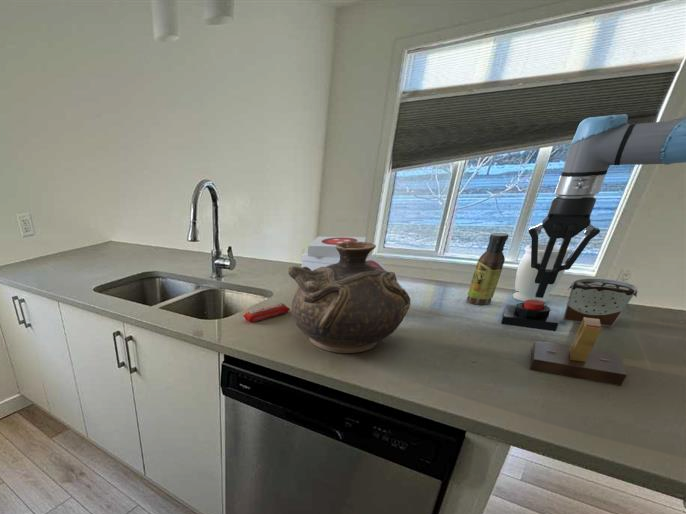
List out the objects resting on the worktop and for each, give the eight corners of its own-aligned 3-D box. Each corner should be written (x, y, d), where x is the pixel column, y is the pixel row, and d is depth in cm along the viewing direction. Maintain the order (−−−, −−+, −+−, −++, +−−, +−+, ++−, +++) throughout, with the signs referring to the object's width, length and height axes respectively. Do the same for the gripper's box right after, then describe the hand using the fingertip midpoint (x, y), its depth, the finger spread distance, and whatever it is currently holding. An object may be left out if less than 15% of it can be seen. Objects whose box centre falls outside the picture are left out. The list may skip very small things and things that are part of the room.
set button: (542, 307, 106) (545, 300, 105) (542, 311, 103) (545, 305, 102) (523, 304, 108) (525, 298, 107) (522, 309, 106) (525, 303, 105)
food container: (620, 320, 104) (639, 281, 99) (620, 328, 100) (640, 288, 95) (556, 311, 111) (571, 275, 106) (555, 319, 107) (570, 282, 102)
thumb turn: (569, 349, 88) (584, 316, 84) (584, 351, 86) (600, 317, 83) (569, 359, 84) (585, 325, 80) (585, 362, 83) (602, 327, 79)
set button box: (554, 318, 108) (560, 303, 106) (555, 331, 101) (561, 316, 99) (503, 312, 114) (508, 298, 112) (500, 324, 107) (505, 309, 105)
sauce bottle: (462, 299, 125) (481, 231, 115) (485, 299, 123) (507, 230, 113) (470, 306, 120) (491, 236, 110) (494, 306, 118) (518, 235, 108)
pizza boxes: (377, 317, 118) (388, 255, 109) (290, 298, 138) (294, 244, 129) (406, 300, 128) (418, 241, 119) (321, 284, 149) (326, 233, 140)
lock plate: (614, 363, 86) (620, 351, 85) (621, 385, 79) (627, 374, 78) (530, 350, 94) (535, 339, 93) (529, 369, 87) (534, 358, 85)
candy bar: (248, 324, 121) (248, 315, 120) (241, 320, 124) (241, 311, 123) (291, 313, 127) (291, 304, 125) (283, 309, 130) (284, 300, 128)
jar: (501, 293, 126) (517, 244, 119) (539, 292, 124) (558, 242, 117) (519, 304, 117) (537, 252, 110) (560, 304, 115) (582, 250, 108)
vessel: (265, 342, 109) (272, 246, 98) (326, 319, 124) (338, 233, 112) (359, 374, 90) (380, 259, 78) (418, 342, 104) (443, 241, 93)
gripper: (538, 198, 93) (506, 297, 105) (617, 197, 86) (573, 303, 98) (538, 194, 98) (508, 289, 110) (613, 193, 91) (572, 294, 103)
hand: (539, 295), depth 104 cm, fingers closed
